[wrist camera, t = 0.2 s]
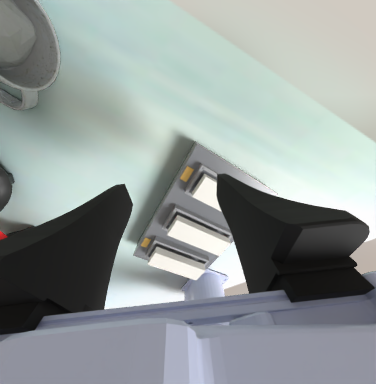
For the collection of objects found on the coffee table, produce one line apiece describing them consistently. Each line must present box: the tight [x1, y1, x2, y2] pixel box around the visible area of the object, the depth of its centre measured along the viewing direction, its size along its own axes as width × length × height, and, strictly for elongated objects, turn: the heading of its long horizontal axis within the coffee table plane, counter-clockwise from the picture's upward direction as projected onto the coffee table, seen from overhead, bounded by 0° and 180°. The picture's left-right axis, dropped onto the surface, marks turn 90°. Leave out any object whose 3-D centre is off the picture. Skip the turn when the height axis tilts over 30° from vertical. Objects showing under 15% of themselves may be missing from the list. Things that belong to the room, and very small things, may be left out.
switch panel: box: [133, 141, 278, 270], centre depth 23 cm, size 22×14×4 cm, turn 150°
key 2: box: [148, 247, 205, 280], centre depth 23 cm, size 3×9×1 cm, turn 60°
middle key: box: [167, 215, 231, 256], centre depth 20 cm, size 3×9×1 cm, turn 60°
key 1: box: [192, 174, 222, 212], centre depth 18 cm, size 3×9×1 cm, turn 60°
